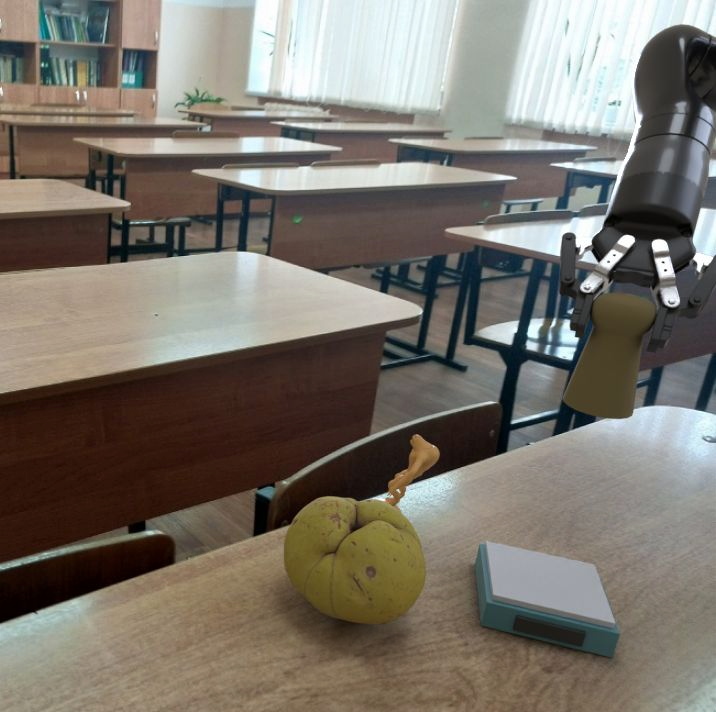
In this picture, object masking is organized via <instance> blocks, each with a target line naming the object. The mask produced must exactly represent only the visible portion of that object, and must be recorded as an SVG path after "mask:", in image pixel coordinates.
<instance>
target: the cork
mask: <svg viewBox="0 0 716 712" xmlns="http://www.w3.org/2000/svg"><path fill="white" fill-rule="evenodd" d="M656 314H657V307H656V304H654V303H653V302H652V301H651V300H649V299H647V298H645V297H642V296H639V295H635V294H632V293H626V292H605V293H603V294H599V295H598V296H597V297H596V299H595V300H594V301H593V304H592V307H591V311H590V317H589V320H590V322H591V324H592V328H591V330H590V333H589V335H588V337H587V340H586V342H585V344H584V347H583V349H582V351H581V353H580V356H579V358H578V360H577V362H576V365H575V367H574V370H573V372H572V374H571V377H570V378H569V382H568V384H567V386H566V389H565V391H564V393H563V396H562V398H561V399H562V401H563V403H564V404H566V406H568V407H569V408H572V409H573V410H575V411H577V412H581V413H582V414H585V415H590V416H593V417H597V418H603V419H608V420H609V419H611V420H623V419H629V418H631V417H633V414H634V410H635V403H636V395H637V387H638V378H639V371H640V364H641V357H642V350H643V341H644V335H646V334H647V333H649V332H650V331H651V330H652V327H653V325H654V322H655V319H656Z"/></svg>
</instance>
